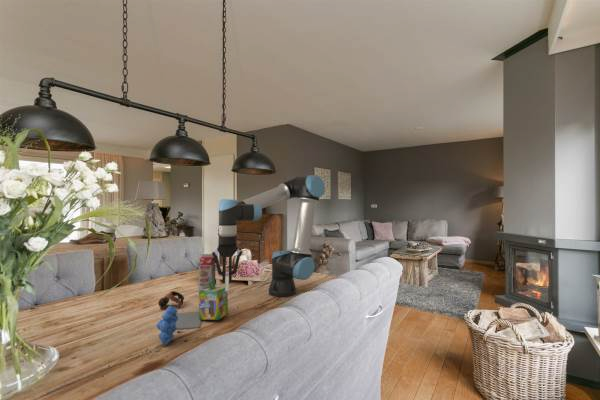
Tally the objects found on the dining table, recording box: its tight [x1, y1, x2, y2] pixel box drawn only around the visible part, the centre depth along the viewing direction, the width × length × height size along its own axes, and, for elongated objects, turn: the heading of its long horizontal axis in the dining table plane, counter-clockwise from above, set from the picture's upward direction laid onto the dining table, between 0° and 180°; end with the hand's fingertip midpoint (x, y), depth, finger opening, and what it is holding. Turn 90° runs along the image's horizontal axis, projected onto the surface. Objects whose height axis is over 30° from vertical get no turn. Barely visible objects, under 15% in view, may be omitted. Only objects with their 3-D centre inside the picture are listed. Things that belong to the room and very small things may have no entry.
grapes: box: [155, 305, 179, 346], centre depth 102 cm, size 12×7×12 cm, turn 3°
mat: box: [159, 311, 202, 332], centre depth 120 cm, size 14×17×1 cm
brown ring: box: [158, 290, 185, 310], centre depth 135 cm, size 12×10×8 cm
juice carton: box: [197, 253, 216, 299], centre depth 154 cm, size 7×7×22 cm
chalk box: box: [198, 281, 229, 321], centre depth 123 cm, size 9×9×15 cm
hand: (226, 290), depth 124 cm, fingers closed
